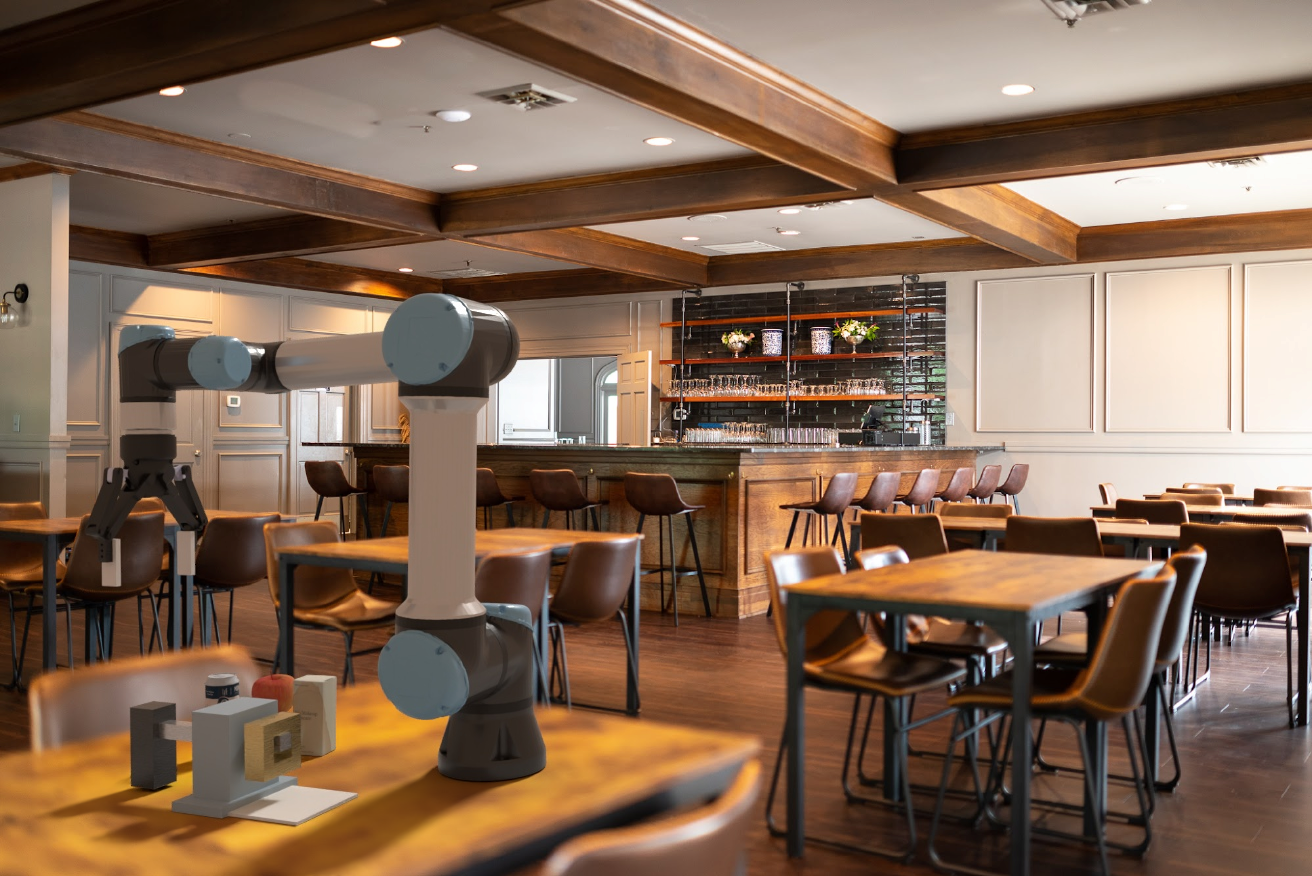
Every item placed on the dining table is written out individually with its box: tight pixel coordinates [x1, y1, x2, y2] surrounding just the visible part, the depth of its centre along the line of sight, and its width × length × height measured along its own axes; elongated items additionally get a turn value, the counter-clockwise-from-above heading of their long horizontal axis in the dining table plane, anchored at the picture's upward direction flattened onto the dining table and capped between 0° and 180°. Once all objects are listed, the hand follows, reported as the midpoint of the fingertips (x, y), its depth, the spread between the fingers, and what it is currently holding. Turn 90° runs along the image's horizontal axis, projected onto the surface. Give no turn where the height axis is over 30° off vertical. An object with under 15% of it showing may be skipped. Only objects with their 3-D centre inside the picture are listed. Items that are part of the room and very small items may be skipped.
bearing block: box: [171, 696, 299, 819], centre depth 150 cm, size 8×14×12 cm, turn 158°
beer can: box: [204, 672, 240, 708], centre depth 170 cm, size 5×5×12 cm
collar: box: [244, 711, 302, 782], centre depth 148 cm, size 3×7×7 cm, turn 158°
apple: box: [250, 670, 296, 713], centre depth 195 cm, size 7×7×8 cm
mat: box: [227, 785, 359, 826], centre depth 147 cm, size 11×12×1 cm
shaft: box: [129, 700, 291, 790], centre depth 152 cm, size 24×4×10 cm, turn 68°
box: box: [292, 674, 338, 757], centre depth 173 cm, size 5×4×11 cm
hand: (150, 580), depth 168 cm, fingers open, 13 cm apart
